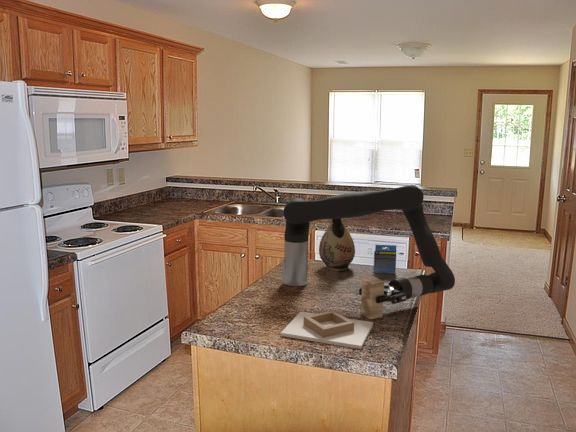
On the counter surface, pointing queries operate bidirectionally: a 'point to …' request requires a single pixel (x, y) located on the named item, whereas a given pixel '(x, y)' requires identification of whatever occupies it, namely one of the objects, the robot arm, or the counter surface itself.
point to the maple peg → (371, 298)
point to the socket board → (336, 339)
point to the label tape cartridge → (385, 259)
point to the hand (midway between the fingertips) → (367, 295)
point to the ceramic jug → (337, 246)
